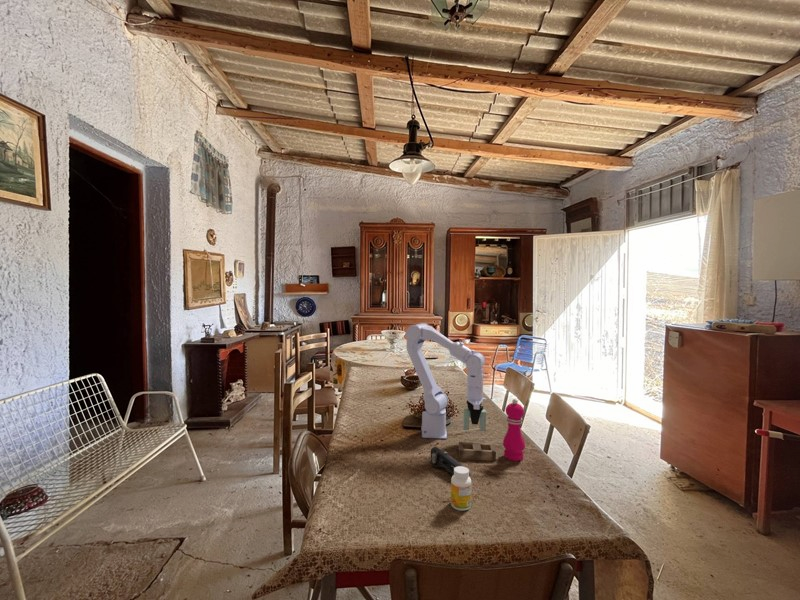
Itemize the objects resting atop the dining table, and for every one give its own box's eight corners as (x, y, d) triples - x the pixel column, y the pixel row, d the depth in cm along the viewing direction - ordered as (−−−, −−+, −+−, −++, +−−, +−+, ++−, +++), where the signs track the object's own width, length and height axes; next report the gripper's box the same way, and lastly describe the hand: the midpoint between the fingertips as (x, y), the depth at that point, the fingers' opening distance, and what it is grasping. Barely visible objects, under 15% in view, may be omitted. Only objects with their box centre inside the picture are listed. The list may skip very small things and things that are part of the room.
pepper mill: (524, 453, 131) (526, 397, 130) (524, 463, 124) (526, 403, 123) (503, 450, 133) (504, 395, 132) (502, 459, 126) (503, 401, 125)
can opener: (425, 462, 124) (425, 446, 124) (442, 458, 127) (442, 441, 127) (458, 488, 109) (459, 469, 108) (477, 482, 112) (477, 464, 112)
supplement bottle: (448, 499, 103) (449, 465, 102) (468, 499, 103) (468, 464, 103) (453, 511, 97) (453, 475, 97) (473, 510, 98) (474, 474, 97)
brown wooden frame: (459, 458, 127) (459, 449, 126) (458, 450, 133) (458, 441, 133) (495, 460, 125) (495, 451, 125) (493, 452, 132) (493, 443, 132)
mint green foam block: (463, 429, 138) (463, 411, 137) (463, 426, 141) (463, 408, 140) (485, 431, 137) (486, 412, 137) (484, 427, 140) (485, 409, 140)
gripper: (488, 392, 130) (487, 430, 131) (483, 381, 145) (483, 415, 146) (468, 391, 131) (467, 429, 132) (465, 380, 146) (464, 415, 146)
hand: (474, 422), depth 139 cm, fingers closed on mint green foam block, 3 cm apart
